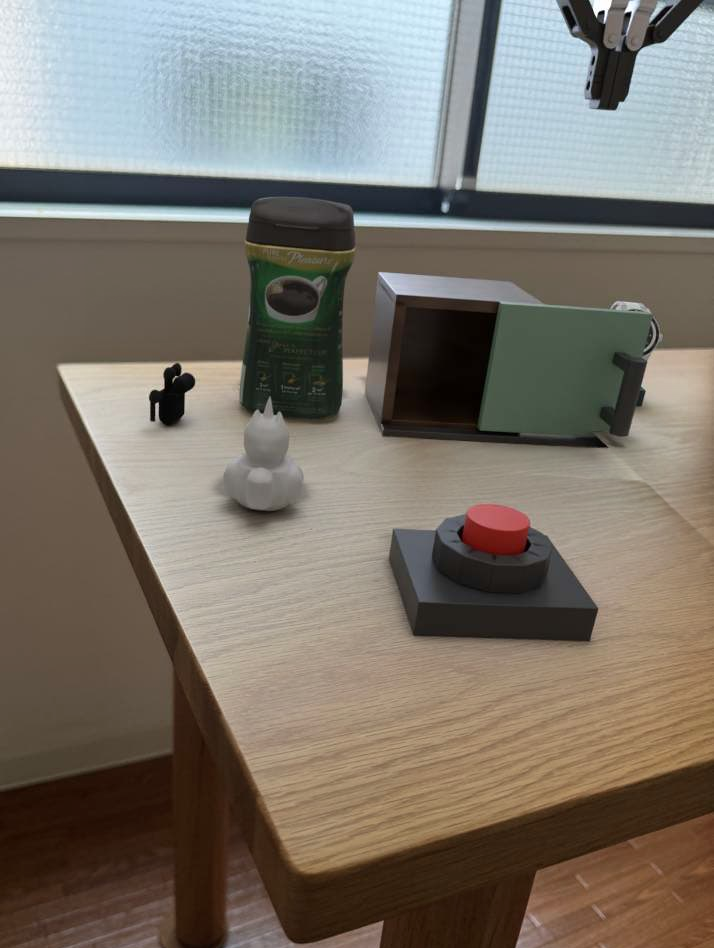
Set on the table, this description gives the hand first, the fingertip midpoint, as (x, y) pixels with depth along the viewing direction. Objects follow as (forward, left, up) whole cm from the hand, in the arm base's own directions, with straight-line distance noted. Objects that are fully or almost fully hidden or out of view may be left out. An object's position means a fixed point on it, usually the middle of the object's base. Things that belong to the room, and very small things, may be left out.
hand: (602, 109), depth 63 cm
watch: (-12, -13, -27) cm, 32 cm away
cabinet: (+2, -8, -27) cm, 28 cm away
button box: (+11, +26, -27) cm, 39 cm away
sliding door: (-2, 0, -26) cm, 26 cm away
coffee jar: (+21, -8, -27) cm, 35 cm away
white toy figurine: (+24, +15, -27) cm, 39 cm away
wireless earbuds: (+31, -2, -27) cm, 41 cm away
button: (+11, +26, -23) cm, 37 cm away
